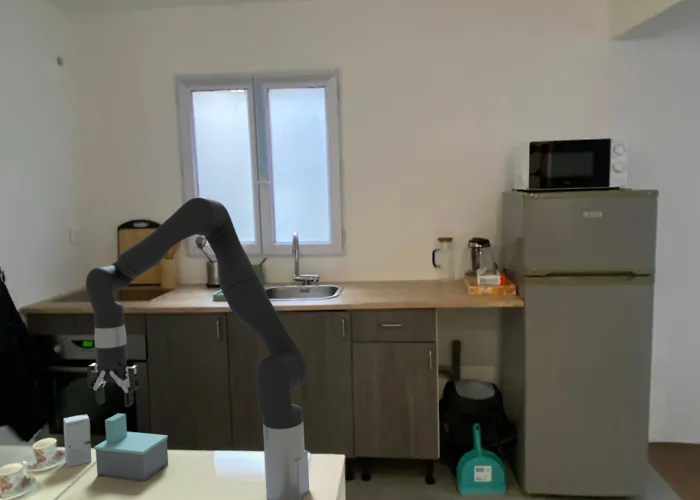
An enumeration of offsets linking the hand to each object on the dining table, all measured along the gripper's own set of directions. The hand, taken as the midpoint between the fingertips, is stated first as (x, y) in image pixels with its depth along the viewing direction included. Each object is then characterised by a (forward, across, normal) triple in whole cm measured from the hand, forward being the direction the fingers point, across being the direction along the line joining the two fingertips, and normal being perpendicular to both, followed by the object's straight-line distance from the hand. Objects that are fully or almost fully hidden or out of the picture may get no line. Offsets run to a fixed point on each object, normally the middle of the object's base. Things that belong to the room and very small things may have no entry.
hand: (114, 404), depth 150 cm
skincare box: (+17, +13, -1) cm, 22 cm away
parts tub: (+17, -5, 0) cm, 18 cm away
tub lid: (+11, -5, 0) cm, 12 cm away
